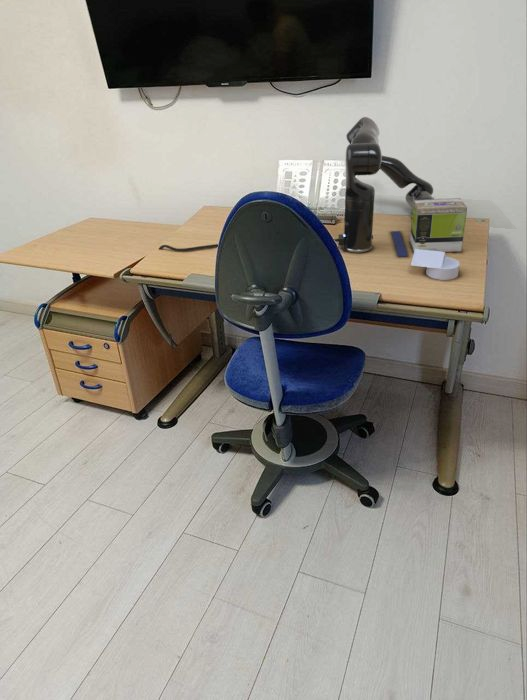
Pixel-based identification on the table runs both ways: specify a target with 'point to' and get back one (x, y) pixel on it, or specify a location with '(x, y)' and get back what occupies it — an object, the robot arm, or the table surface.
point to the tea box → (438, 224)
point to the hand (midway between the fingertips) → (434, 223)
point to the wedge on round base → (436, 264)
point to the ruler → (399, 244)
